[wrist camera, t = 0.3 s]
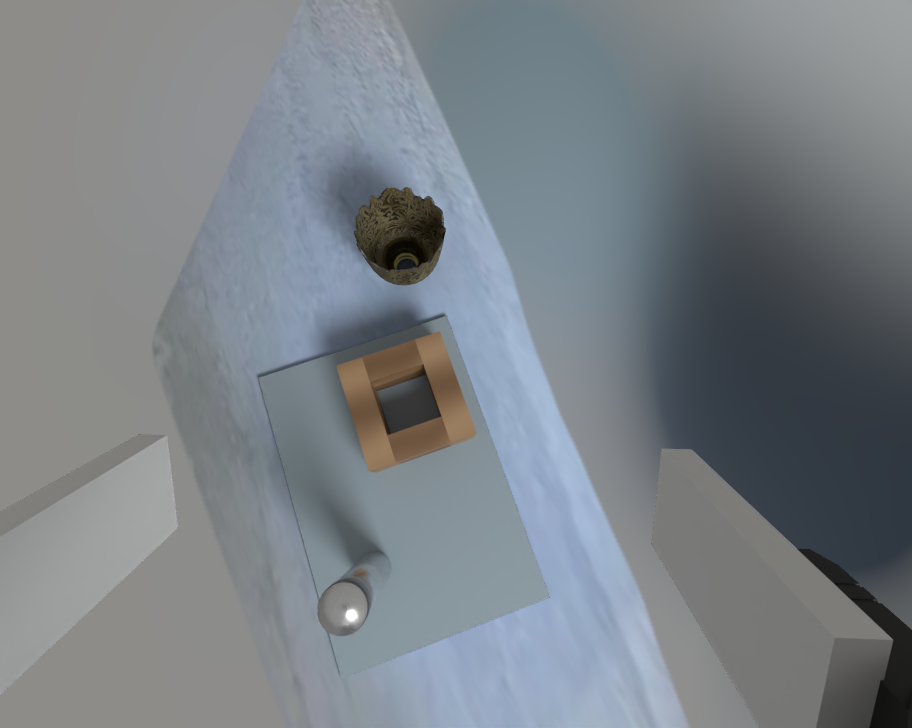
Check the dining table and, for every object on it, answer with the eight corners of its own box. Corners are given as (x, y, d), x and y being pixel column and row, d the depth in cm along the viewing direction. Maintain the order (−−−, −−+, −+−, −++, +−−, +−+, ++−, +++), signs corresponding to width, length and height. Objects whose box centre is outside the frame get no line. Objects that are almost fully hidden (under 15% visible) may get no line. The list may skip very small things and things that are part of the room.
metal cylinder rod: (396, 580, 43) (374, 625, 29) (363, 592, 43) (324, 644, 29) (386, 545, 43) (359, 574, 30) (353, 558, 43) (310, 592, 30)
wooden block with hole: (473, 437, 46) (476, 433, 41) (376, 472, 45) (368, 471, 40) (440, 345, 47) (439, 331, 43) (346, 376, 47) (336, 365, 42)
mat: (549, 596, 43) (550, 597, 43) (342, 677, 42) (341, 679, 41) (446, 316, 49) (446, 315, 48) (259, 378, 47) (258, 377, 46)
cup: (353, 283, 49) (336, 245, 41) (390, 220, 51) (379, 172, 43) (423, 316, 48) (419, 284, 41) (458, 251, 50) (460, 209, 42)
